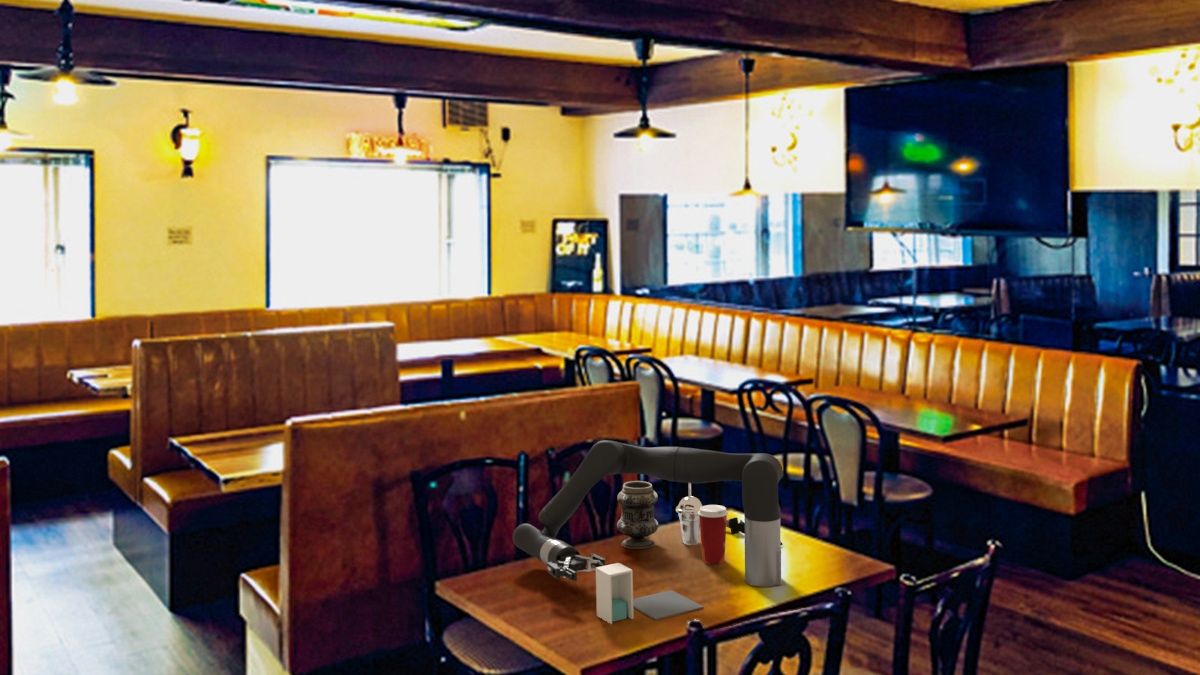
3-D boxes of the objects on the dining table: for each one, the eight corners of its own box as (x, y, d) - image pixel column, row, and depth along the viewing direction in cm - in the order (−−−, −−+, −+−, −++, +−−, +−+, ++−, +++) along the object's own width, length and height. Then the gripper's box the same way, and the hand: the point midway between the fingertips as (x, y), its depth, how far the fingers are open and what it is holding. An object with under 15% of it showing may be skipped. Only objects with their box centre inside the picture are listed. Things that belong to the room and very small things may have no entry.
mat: (671, 591, 276) (671, 590, 276) (703, 608, 264) (703, 606, 264) (624, 602, 269) (624, 600, 269) (655, 620, 257) (655, 618, 257)
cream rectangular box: (596, 615, 260) (595, 567, 259) (619, 610, 263) (618, 562, 262) (610, 624, 255) (609, 574, 253) (633, 618, 258) (632, 569, 257)
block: (603, 616, 260) (603, 600, 259) (617, 613, 262) (617, 597, 261) (612, 622, 256) (611, 605, 256) (626, 618, 258) (626, 602, 258)
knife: (703, 521, 333) (704, 507, 332) (710, 519, 334) (711, 505, 333) (775, 555, 309) (776, 540, 308) (782, 553, 310) (783, 538, 310)
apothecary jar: (664, 548, 311) (663, 487, 309) (624, 552, 308) (623, 491, 306) (650, 536, 323) (649, 477, 321) (612, 540, 319) (610, 481, 317)
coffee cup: (734, 561, 298) (734, 508, 296) (711, 567, 293) (711, 514, 291) (714, 554, 305) (714, 502, 303) (692, 560, 300) (691, 507, 298)
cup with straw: (710, 545, 313) (709, 477, 311) (681, 549, 310) (680, 480, 308) (697, 537, 321) (696, 471, 319) (669, 540, 318) (668, 474, 316)
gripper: (535, 547, 278) (565, 564, 264) (583, 537, 285) (615, 554, 271) (535, 575, 279) (565, 594, 265) (583, 565, 286) (615, 583, 272)
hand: (590, 573), depth 268 cm, fingers open, 8 cm apart
